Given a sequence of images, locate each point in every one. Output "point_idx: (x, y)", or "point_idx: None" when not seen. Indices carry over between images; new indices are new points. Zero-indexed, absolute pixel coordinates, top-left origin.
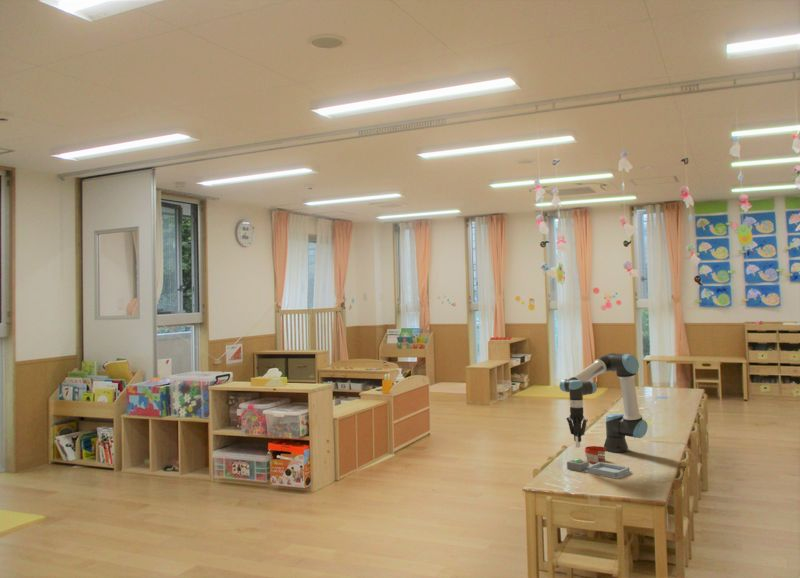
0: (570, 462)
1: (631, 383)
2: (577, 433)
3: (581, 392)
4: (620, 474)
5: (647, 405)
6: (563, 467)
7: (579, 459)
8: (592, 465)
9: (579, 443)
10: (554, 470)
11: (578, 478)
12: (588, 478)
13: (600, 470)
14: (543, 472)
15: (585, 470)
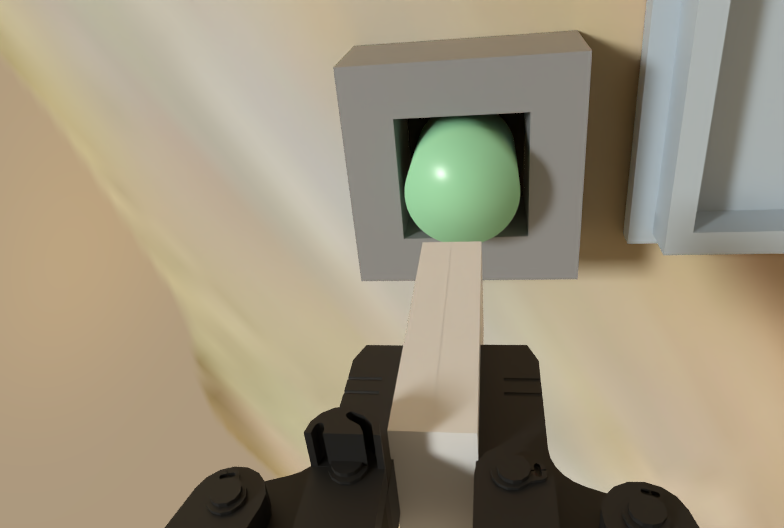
0: (410, 275)
1: None
2: (381, 494)
3: None
4: None
5: None
6: (307, 215)
7: (486, 187)
8: (695, 124)
9: (481, 316)
10: (325, 364)
11: (666, 445)
12: (758, 396)
13: None
14: (306, 462)
15: (630, 235)
